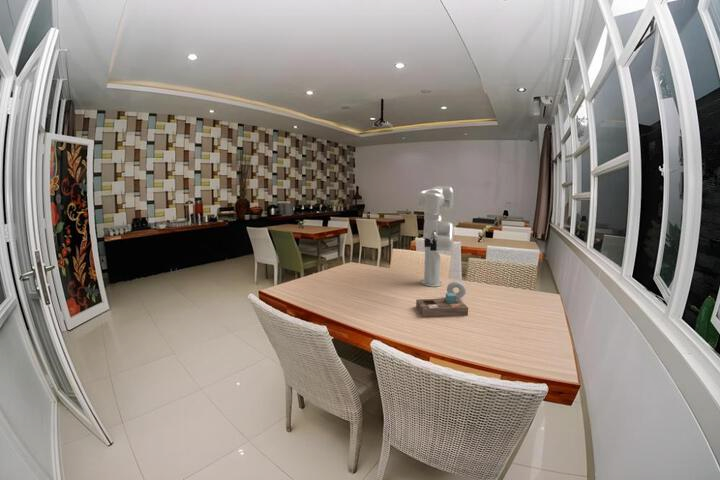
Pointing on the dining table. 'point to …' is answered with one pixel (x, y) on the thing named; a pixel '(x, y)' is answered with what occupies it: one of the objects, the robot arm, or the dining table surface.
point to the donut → (459, 285)
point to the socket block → (440, 308)
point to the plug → (450, 298)
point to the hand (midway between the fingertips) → (430, 248)
